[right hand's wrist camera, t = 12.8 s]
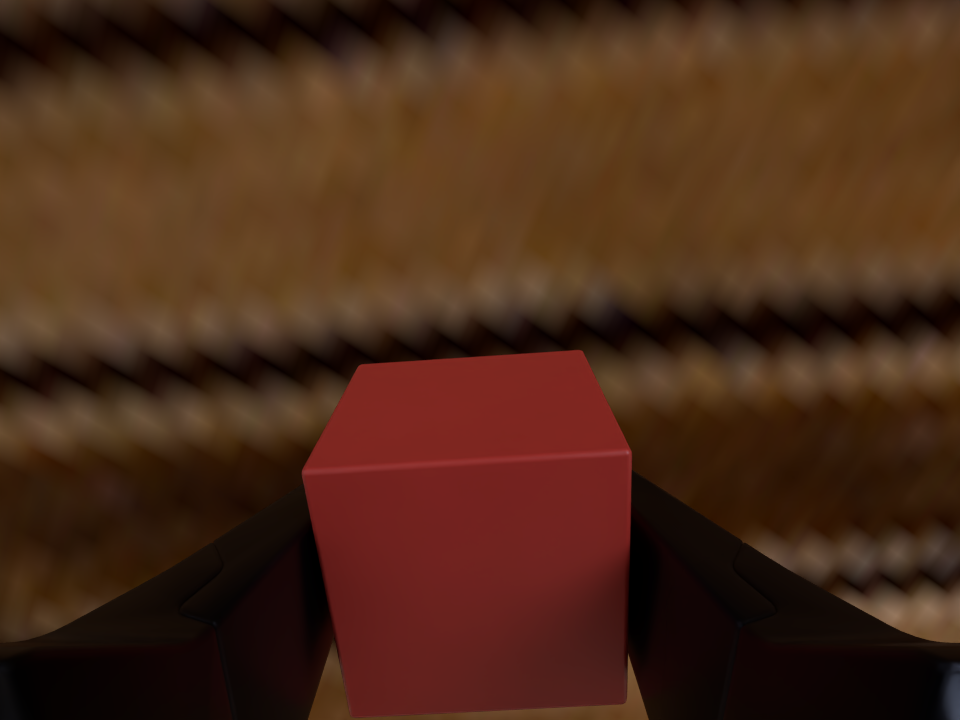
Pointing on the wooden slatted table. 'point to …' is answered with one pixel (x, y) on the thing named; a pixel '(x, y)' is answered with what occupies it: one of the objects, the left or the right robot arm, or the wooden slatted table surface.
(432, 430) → the block
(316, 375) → the wooden slatted table surface
